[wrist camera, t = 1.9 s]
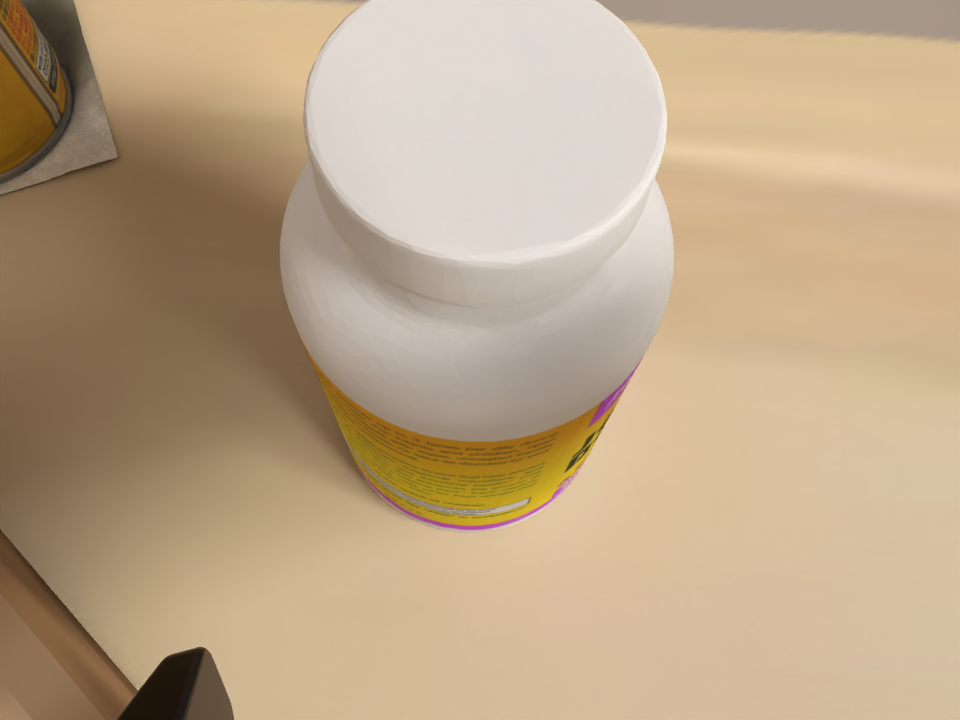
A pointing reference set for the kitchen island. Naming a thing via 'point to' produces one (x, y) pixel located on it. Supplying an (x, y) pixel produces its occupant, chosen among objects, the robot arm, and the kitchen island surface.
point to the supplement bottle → (478, 245)
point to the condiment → (47, 95)
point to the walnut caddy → (50, 654)
